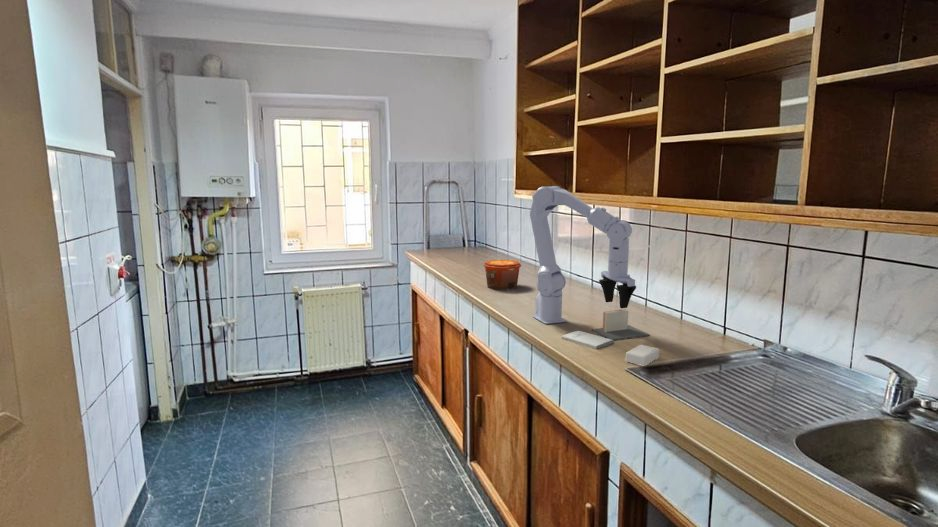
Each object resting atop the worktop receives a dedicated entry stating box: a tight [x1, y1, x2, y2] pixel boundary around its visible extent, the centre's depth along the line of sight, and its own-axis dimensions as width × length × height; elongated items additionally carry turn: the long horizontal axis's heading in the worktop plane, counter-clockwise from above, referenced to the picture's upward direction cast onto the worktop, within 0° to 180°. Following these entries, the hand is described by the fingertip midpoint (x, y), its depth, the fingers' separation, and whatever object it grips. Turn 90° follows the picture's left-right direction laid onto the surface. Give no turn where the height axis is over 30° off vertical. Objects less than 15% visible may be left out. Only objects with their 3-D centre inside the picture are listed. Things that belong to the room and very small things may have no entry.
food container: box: [483, 259, 522, 291], centre depth 222 cm, size 16×16×11 cm
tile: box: [602, 308, 629, 332], centre depth 159 cm, size 2×8×6 cm, turn 110°
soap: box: [625, 344, 660, 365], centre depth 135 cm, size 9×6×3 cm, turn 136°
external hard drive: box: [561, 330, 614, 350], centre depth 151 cm, size 2×8×12 cm
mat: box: [591, 324, 651, 341], centre depth 158 cm, size 10×14×1 cm
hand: (616, 304), depth 159 cm, fingers open, 7 cm apart
